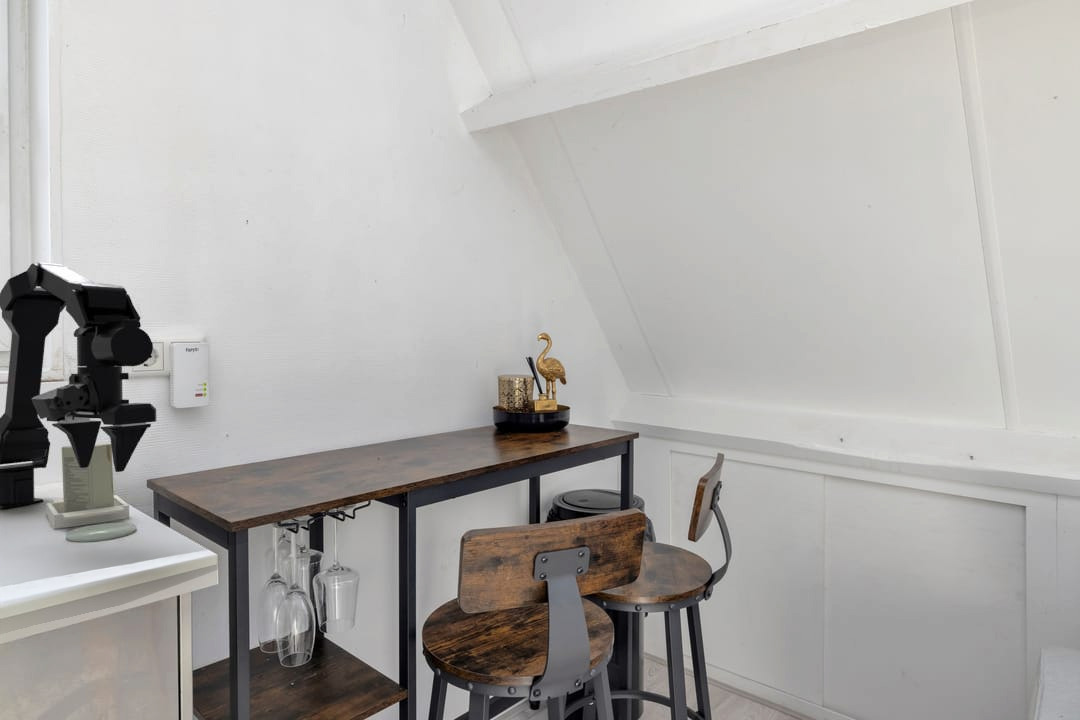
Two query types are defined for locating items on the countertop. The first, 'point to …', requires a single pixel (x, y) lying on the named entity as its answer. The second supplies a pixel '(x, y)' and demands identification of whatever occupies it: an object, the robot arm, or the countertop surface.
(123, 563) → the countertop surface
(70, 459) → the skincare box
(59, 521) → the white rectangular tray
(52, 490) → the countertop surface
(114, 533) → the coaster
